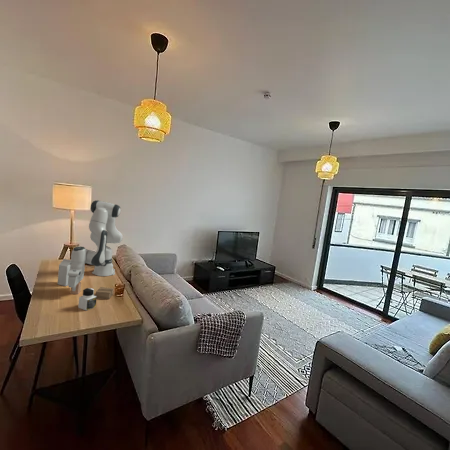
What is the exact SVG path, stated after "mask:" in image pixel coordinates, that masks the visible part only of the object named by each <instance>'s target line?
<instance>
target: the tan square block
mask: <svg viewBox="0 0 450 450" xmlns="http://www.w3.org/2000/svg"><path fill="white" fill-rule="evenodd" d="M114 289H115V288H114V287H103V286H100V287H99V288H98V289H97V290H96V292H95V296H96V297H97V298H96V299H101V300H110V299H111V298H112V296H113V295H114Z"/></svg>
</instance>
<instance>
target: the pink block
mask: <svg viewBox="0 0 450 450" xmlns="http://www.w3.org/2000/svg"><path fill="white" fill-rule="evenodd" d="M81 287H82V281H80V282H79V283H78V284H77V285H76V290H75V291H72V287H70V295H79V293H80V292H81Z"/></svg>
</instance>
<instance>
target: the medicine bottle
mask: <svg viewBox="0 0 450 450" xmlns="http://www.w3.org/2000/svg"><path fill="white" fill-rule="evenodd" d="M94 293H95V289H94V288H92V287H87V288H84V289H83V290H82V295H81V296H79V297H78V307H77V308H78V309H80V310H84V311H89V310H91V309H94V308H96V306H97V299H98V298H97V297H96V295H95V294H94Z"/></svg>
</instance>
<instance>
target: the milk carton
mask: <svg viewBox="0 0 450 450" xmlns="http://www.w3.org/2000/svg"><path fill="white" fill-rule="evenodd" d="M70 265H71V259H66V258H62V261H61V262H60V263H59V264H58V274H57V285H58V286H63V287H67V286H68V277H69V276H68V272H69V271H70Z"/></svg>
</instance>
